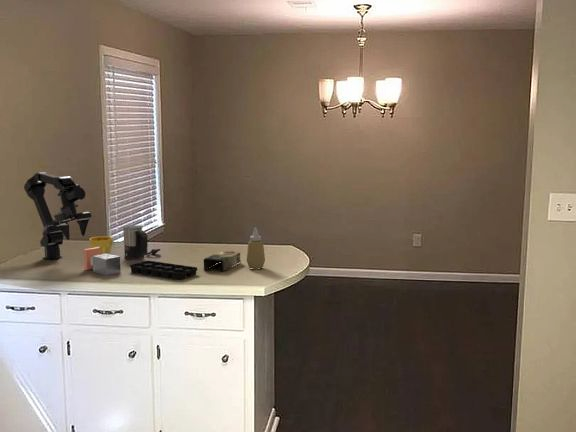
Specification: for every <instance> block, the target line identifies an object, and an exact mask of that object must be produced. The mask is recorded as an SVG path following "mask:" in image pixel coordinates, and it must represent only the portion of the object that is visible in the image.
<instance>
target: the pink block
mask: <svg viewBox="0 0 576 432" xmlns="http://www.w3.org/2000/svg"><path fill="white" fill-rule="evenodd" d="M95 255H101V253H100V247H95V248H84V249H83V260H84V261H83V264H84V266H83V267H84V270H86V271H87V270H93V259H92V256H95Z"/></svg>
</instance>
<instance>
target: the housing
mask: <svg viewBox="0 0 576 432" xmlns="http://www.w3.org/2000/svg"><path fill="white" fill-rule="evenodd" d="M92 259H93V269H92V272H93V273H95V274H99V275H103V276H112V275H115V274H120V273H122V272H121V271H122V269H121V256H119V255H114V254H111V253H110V254H107V253H106V254H101V255H95V256H92Z"/></svg>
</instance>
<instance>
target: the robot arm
mask: <svg viewBox="0 0 576 432" xmlns="http://www.w3.org/2000/svg"><path fill="white" fill-rule="evenodd" d="M47 184H48V185H52V186H53V187H54V188H55V189H56V190H59V192H58V193H57V197H60V202H61V207H60V208H59V209H60V211H59V212H57V213H55V214H54V215H52V214H51V211H50V208H49V207H48V204H47V201H46V198H45V192H46V189H45V188H46V187H47ZM23 188H24V191H25V192H26V195H27V196H28V197H29V199H31V200H32V201H33V203H34V206H35V208H36V210H37V213H38V215H39V218H40V221H41V223H42V226H43V229H42V238H41V239H40V240H39V244H40V247H44V256H43V257H42V259H45V260H58V259H62V258H63V256H62V255H61V249H60V245H63V242H64V237H65V239H66V241H68V240H69V241H70V237H71V235H70V224H68V223H70V222H74V221H76V223H77V224H78V226H79V231H80V235H81V236H82V237H85V235H86V231H87V227H88V223H89V221H90V220H91V218H92V213H91V212H90V211H84V212H78V210H77V208H78V207H79V206H78V205H79V204H76V202H78V201H81V200H83V199H85V198H86V191H85V189H83V188H82V187H81V185H80V184H77V183H76V182H75V181H74V180H73V178H72V176H69V175H68V176H58V175H55V174H51V173H47V172H46V171H42V172H41V171H40V172H36V173H35V174H33V175H32V177H30V178H29V179H27V180H26V182H25V184H24V186H23ZM52 216H53V217H52Z"/></svg>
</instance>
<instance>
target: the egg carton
mask: <svg viewBox="0 0 576 432" xmlns="http://www.w3.org/2000/svg"><path fill="white" fill-rule="evenodd" d="M129 268H130V272H131V274H136V275H138V274H139V275H140V274H141V275H143V276H151V277H156V278H160V277H161V278H162V279H172V280H175V281H182V280H186V279H187V278H192V277H194V276H193V275H195V276H196V275H197V271H198V267H197V266H191V265H189V266H188V265H183V264H175V263H167V262H164V261H163V262H161V261H156V260H155V261H154V260H144V261H140V262H134V263H132V264H129ZM191 276H192V277H191Z"/></svg>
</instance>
